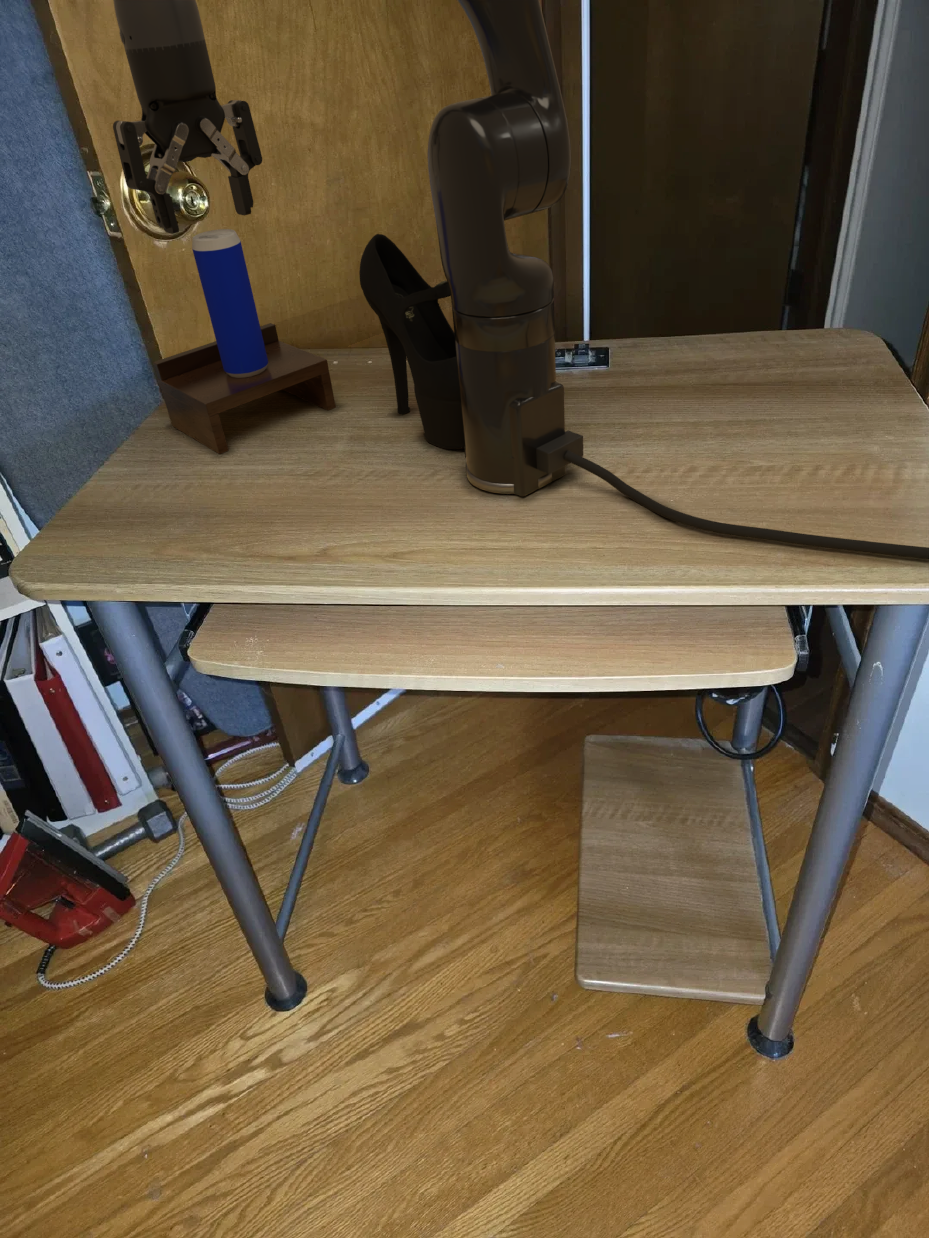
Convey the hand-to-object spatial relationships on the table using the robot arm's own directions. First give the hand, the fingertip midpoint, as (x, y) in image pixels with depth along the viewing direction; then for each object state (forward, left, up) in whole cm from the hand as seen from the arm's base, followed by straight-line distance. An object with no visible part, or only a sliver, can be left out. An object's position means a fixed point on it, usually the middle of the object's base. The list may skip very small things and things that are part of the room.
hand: (209, 223), depth 93 cm
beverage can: (0, 0, -16) cm, 16 cm away
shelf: (+1, 0, -22) cm, 22 cm away
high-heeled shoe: (-20, -12, -22) cm, 32 cm away
